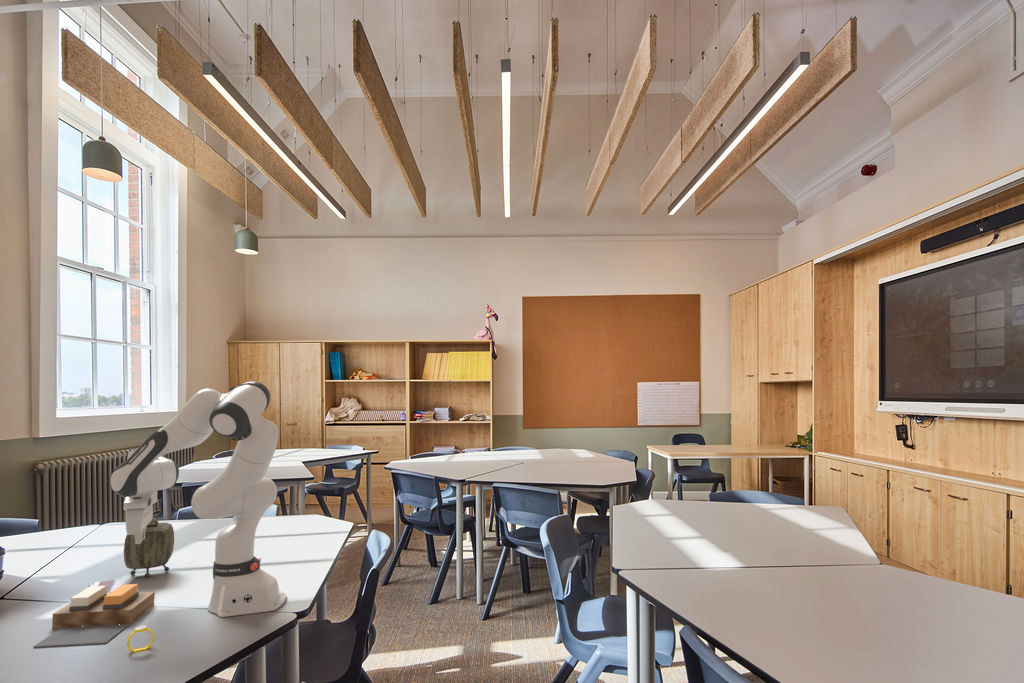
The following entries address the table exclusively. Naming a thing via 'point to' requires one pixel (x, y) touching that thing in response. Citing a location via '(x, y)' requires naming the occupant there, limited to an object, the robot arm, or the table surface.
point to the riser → (104, 613)
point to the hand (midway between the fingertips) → (139, 541)
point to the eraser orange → (120, 596)
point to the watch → (137, 629)
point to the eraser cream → (88, 598)
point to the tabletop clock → (150, 547)
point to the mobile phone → (108, 583)
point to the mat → (82, 635)
